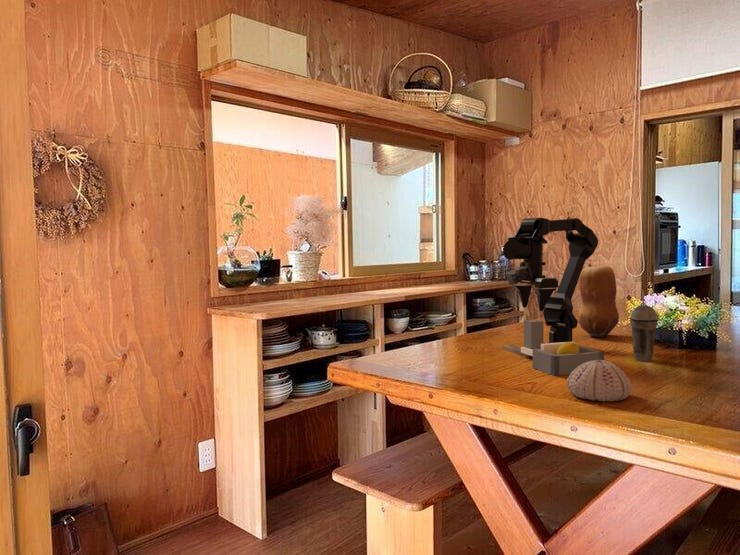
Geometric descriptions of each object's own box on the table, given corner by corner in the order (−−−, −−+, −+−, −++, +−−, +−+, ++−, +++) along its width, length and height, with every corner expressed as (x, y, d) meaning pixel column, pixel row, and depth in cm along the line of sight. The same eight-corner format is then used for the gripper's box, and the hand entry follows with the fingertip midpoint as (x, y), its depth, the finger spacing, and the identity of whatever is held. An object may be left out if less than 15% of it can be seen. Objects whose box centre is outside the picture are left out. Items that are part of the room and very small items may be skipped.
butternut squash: (577, 332, 210) (578, 264, 208) (617, 334, 205) (618, 264, 204) (578, 339, 197) (578, 266, 195) (620, 340, 192) (621, 266, 191)
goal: (579, 363, 160) (580, 345, 159) (604, 371, 150) (604, 352, 150) (532, 367, 155) (532, 349, 155) (554, 375, 146) (554, 356, 145)
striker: (544, 350, 172) (544, 319, 171) (575, 360, 157) (575, 326, 157) (514, 352, 169) (514, 320, 168) (543, 363, 155) (543, 328, 154)
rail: (512, 347, 184) (512, 344, 184) (540, 357, 169) (540, 353, 168) (501, 348, 183) (501, 345, 183) (528, 358, 167) (528, 354, 167)
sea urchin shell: (633, 407, 118) (633, 369, 118) (564, 401, 124) (564, 364, 123) (630, 391, 131) (631, 356, 130) (568, 386, 136) (568, 353, 135)
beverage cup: (660, 359, 163) (662, 289, 162) (652, 363, 158) (654, 291, 157) (634, 356, 168) (635, 288, 167) (625, 360, 163) (626, 290, 162)
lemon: (571, 359, 157) (582, 339, 152) (573, 374, 152) (584, 353, 147) (551, 354, 157) (561, 334, 152) (552, 369, 153) (563, 348, 148)
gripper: (494, 258, 183) (494, 307, 184) (526, 260, 165) (525, 314, 166) (525, 257, 186) (525, 305, 187) (559, 259, 168) (559, 312, 169)
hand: (532, 309), depth 177 cm, fingers open, 9 cm apart
